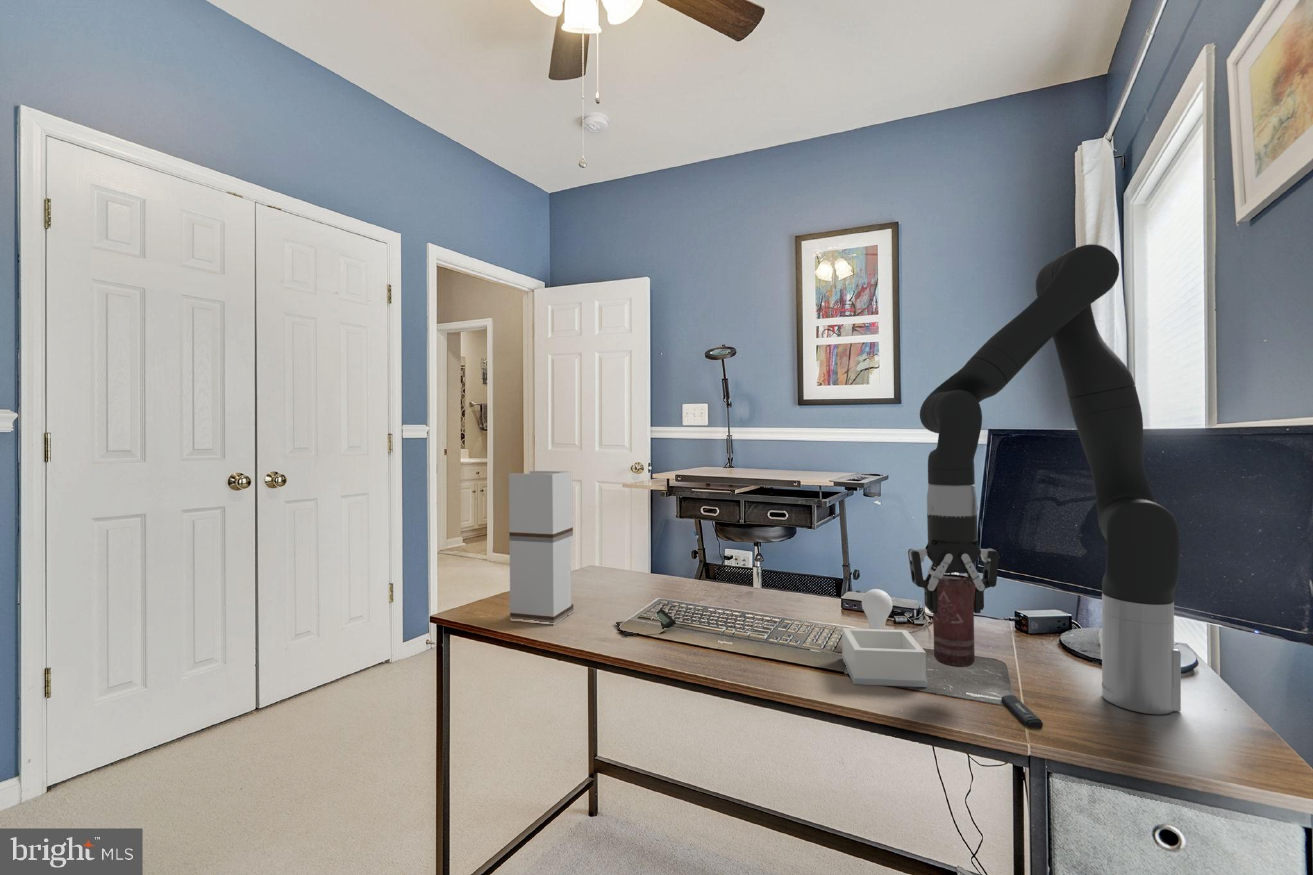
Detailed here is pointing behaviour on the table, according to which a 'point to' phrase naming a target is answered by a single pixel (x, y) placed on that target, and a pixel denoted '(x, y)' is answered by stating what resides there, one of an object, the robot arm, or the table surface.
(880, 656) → the light grey open box
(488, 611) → the table surface
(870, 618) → the lightbulb
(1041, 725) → the usb stick
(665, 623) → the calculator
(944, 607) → the can
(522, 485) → the banded grey pillar
